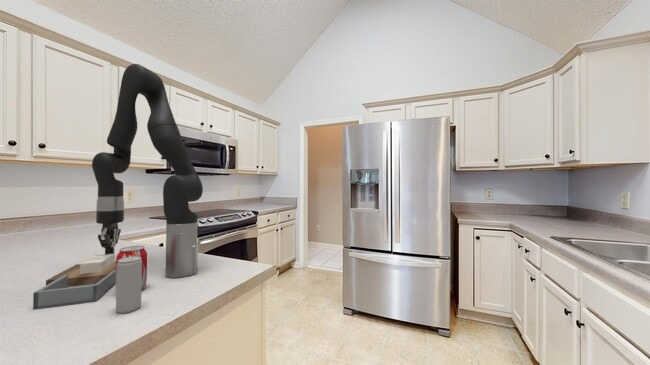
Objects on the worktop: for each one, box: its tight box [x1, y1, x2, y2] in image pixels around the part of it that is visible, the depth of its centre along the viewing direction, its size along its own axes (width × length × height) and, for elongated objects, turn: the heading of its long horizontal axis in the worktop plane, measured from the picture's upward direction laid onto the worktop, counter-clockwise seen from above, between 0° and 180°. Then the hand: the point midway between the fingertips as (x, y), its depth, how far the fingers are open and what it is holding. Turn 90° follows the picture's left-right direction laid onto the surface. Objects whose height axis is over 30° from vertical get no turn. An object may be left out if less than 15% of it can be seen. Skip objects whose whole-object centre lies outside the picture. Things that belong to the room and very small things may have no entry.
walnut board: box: [45, 260, 116, 287], centre depth 82 cm, size 16×16×3 cm
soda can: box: [115, 245, 148, 291], centre depth 72 cm, size 7×7×12 cm
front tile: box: [80, 258, 108, 274], centre depth 80 cm, size 5×5×3 cm
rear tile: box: [89, 253, 116, 266], centre depth 86 cm, size 5×5×3 cm
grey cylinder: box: [115, 256, 142, 314], centre depth 61 cm, size 5×5×12 cm
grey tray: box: [32, 270, 116, 310], centre depth 69 cm, size 12×13×4 cm
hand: (109, 258), depth 91 cm, fingers closed
